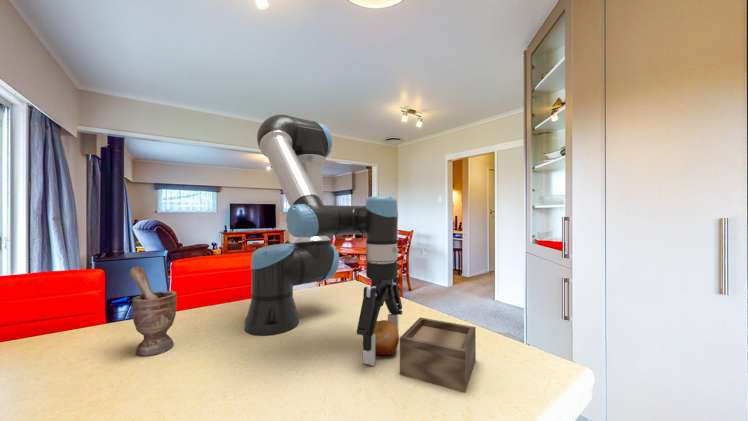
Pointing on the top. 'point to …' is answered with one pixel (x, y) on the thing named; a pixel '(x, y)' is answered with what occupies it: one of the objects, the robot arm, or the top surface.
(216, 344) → the top surface
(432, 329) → the open wooden box
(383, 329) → the fruit
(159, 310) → the mortar and pestle
